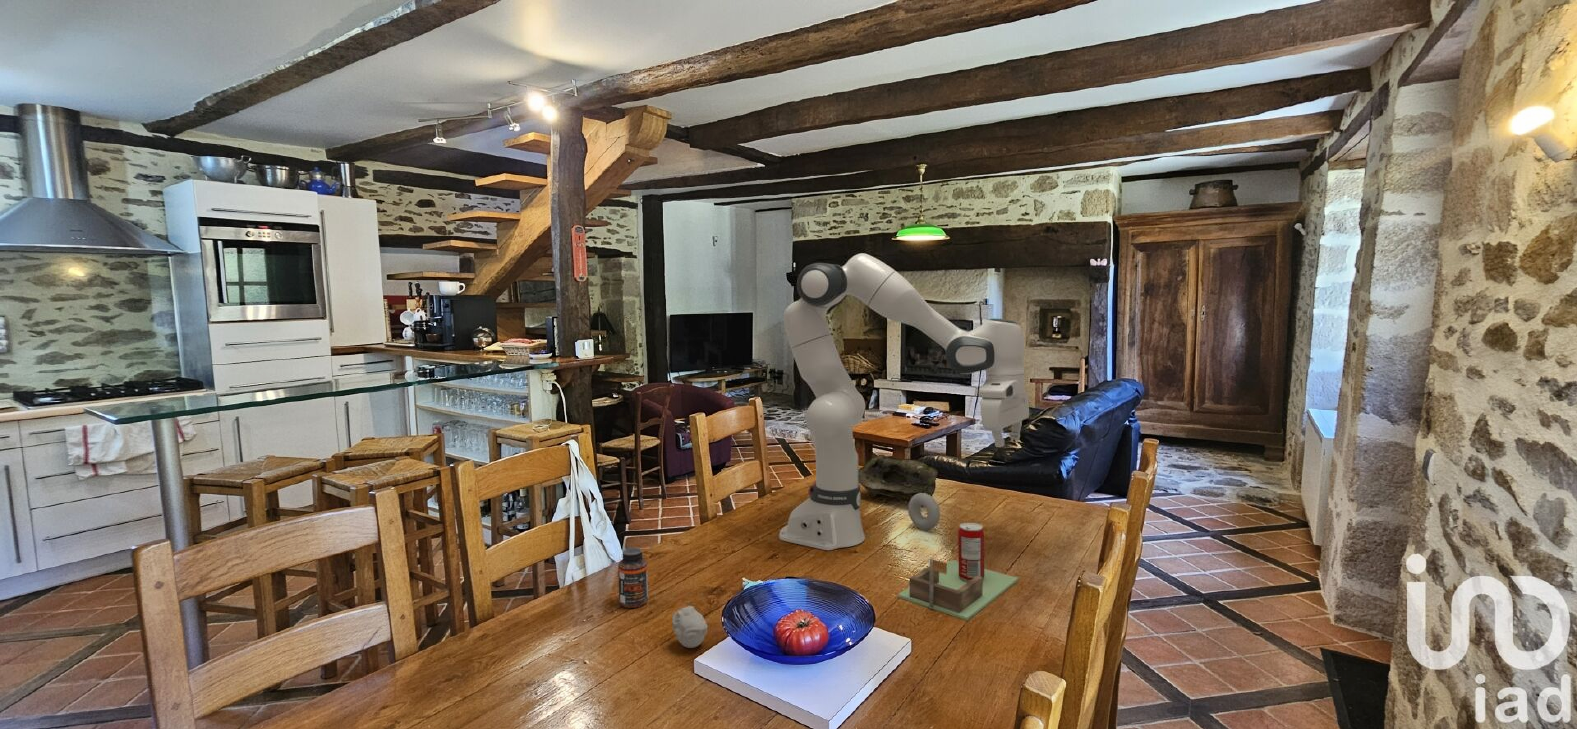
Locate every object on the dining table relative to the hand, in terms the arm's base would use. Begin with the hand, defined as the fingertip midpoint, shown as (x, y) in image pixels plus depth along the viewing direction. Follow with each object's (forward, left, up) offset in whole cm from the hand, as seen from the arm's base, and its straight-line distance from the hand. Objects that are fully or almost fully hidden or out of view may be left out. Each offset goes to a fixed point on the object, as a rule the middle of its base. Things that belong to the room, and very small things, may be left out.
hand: (1007, 442), depth 163 cm
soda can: (-6, -19, -27) cm, 34 cm away
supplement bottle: (-71, -54, -28) cm, 93 cm away
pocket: (-10, -31, -27) cm, 42 cm away
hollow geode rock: (-34, +32, -28) cm, 54 cm away
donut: (-22, +10, -28) cm, 37 cm away
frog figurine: (-51, -65, -28) cm, 87 cm away
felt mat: (-8, -24, -28) cm, 38 cm away
